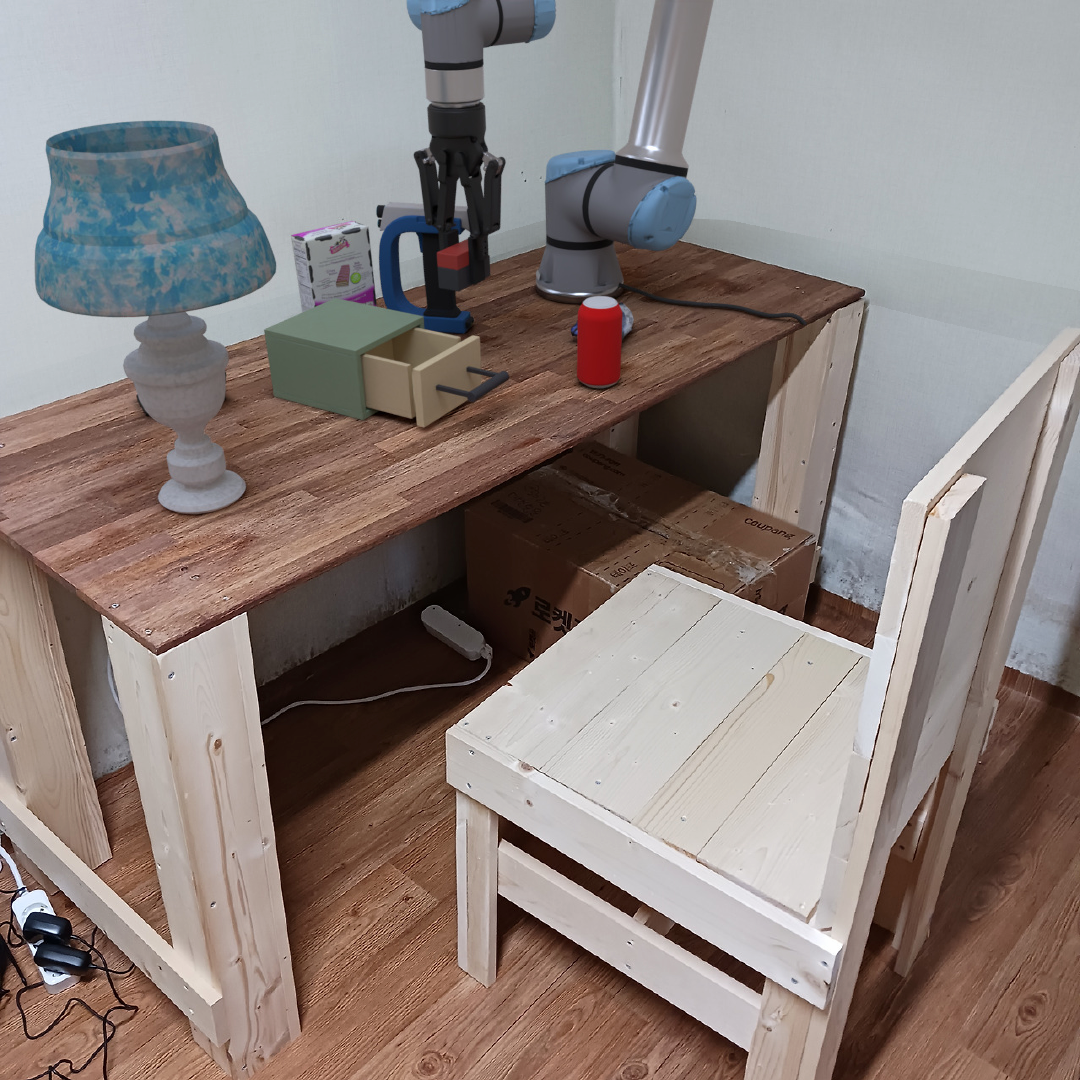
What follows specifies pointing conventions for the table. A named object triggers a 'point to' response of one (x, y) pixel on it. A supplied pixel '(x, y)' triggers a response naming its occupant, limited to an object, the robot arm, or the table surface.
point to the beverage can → (599, 342)
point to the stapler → (456, 267)
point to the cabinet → (330, 353)
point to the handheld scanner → (439, 301)
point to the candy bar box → (334, 265)
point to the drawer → (425, 374)
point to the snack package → (626, 322)
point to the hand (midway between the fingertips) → (465, 279)
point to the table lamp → (156, 273)
